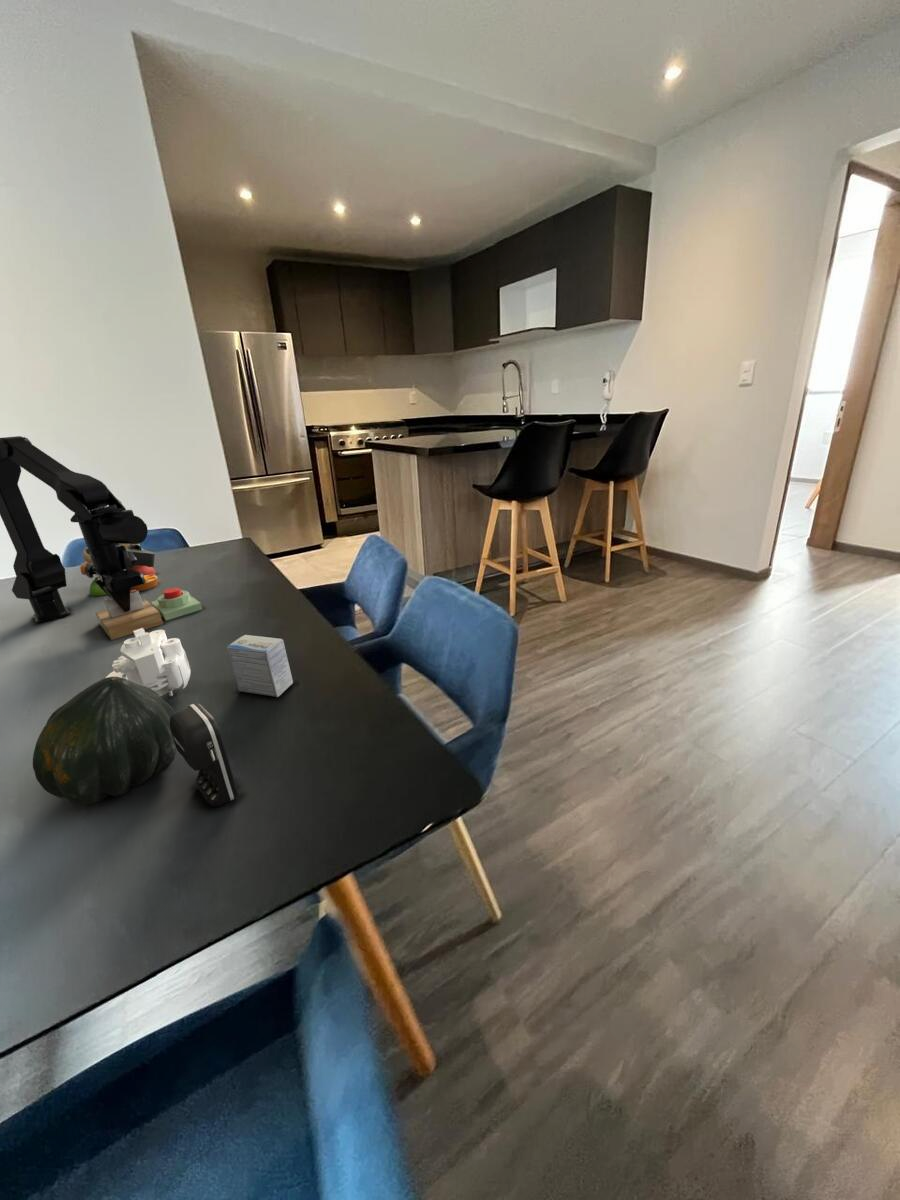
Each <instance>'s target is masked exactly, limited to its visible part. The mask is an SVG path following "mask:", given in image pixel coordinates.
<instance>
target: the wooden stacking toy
mask: <svg viewBox="0 0 900 1200" xmlns="http://www.w3.org/2000/svg"><path fill="white" fill-rule="evenodd" d="M121 545H123V546H125V548H128V547H129V545H130V544H121ZM137 545H140V546H141V543H140V544H137ZM142 550H144V548H142ZM82 558H83V560H84V561H85V562H83V563H82V564H80V573H81V575H83V576H87V575H86V572H85V570H84V568H85V566H86V565H87V563H91V562H92V560H91V557H90V555H89V554H87V552H86V550H85V549H83V551H82ZM132 567H133V568H131V569H133V570H135V571H137V572H139V573H141V574H143V576H144V579H145V583H144V584H142V585H138V586H134V587H131V589H130V591H131V590H137V591H138V592H143V591H148V590H151V589H154V588H155V587H157V585H158V576H157V575H156V574H157V573H156V571H155V569H154V567H147V566H137V565H132ZM125 570H128V569H125ZM97 580H99V579H98V576H96V577H94V579H93V581H91V583H90V585H89V595H90V596H92V597H102V596H108V595H107V594H106V593H105V592H104V591H103V590H102V589H101V588H100V587H99V586H98V585H97V584H96V583H95V581H97Z"/></svg>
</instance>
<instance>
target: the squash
mask: <svg viewBox="0 0 900 1200" xmlns="http://www.w3.org/2000/svg"><path fill="white" fill-rule="evenodd" d="M174 713H176V712H175V711H174V709H173V707H172V706H171V705H170V704H169V703H168V701H165V700H164V699H163V698H162V696H161V697H160V696H159V695H158V694H157V693H156V692H155V691H154V690H152V689H150V688H148V687H146V686H144V685H142V684H139V683H135V682H133V681H130V680H127V679H124V678H120V677H108V678H106V677H105V678H101V679H100V680H98V681H96V682H94V683H93V684H91V685H90V686H88V687H86V688H85V689H83V690H81V691H80V692H78V693H77V694H76V695H74V696H73V697H72V698H71V699H69V700H68V701H66V702H65V703H63V704H62V705H60V706H59V707H58V708H56V710H55V711H53V712H52V713H51V715H50V716H49V717H48V719H47V721H46V723H45V725H44V727H43V728H42V730H41V732H40V733H39V735H38V738H37V740H36V742H35V746H34V750H33V755H32V769H33V772H34V776H35V778H36V781H37V782H38V784H39V785H40V786H41V787H42V789H43V790H44V791H45V792H46V793H48V794H50V795H52V796H54V797H57V798H59V799H65V800H67V801H69V802H70V803H72V804H74V805H79V806H85V805H86V806H87V805H93V804H96V803H99V802H100V801H102V800H103V799H105V798H106V797H107V796H108V795H109V796H114V797H118V796H121V795H124V794H126V793H127V792H128V791H129V790H130V788H131V786H140V785H141V784H144V783H145V782H147V780H148V779H149V778H150V777H151V778H152V777H154V776H156V775H159V774H161V773H162V772H164V771H165V770H167V769H168V768H169V767H170V766H171V765H172V763H173V762H174V760H175V758H176V752H177V748H176V746H175V743H174V739H173V736H172V732H171V728H170V718H171V716H172V715H173V714H174Z"/></svg>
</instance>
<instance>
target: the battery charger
mask: <svg viewBox="0 0 900 1200" xmlns="http://www.w3.org/2000/svg"><path fill="white" fill-rule="evenodd" d="M170 728H171V732H172V736H173V739H174V743H175V746H176V751H178V753H179V754H180V755H181V756H182V758H183V759H184V761H185V762H186V764H187V765H188V766H189V767H190V768H191V769H192V770H194V771H198V774H197V778H196V780H195V786H196V788H197V790H198V791H199V792H200V794H201V795H202V796H203V798H204V799H205V800H206V803H208V804H209V805H210V806H211V807H213V808H214V807H220V806H222V805H224V804H227V803H228V802H230V801H231V802H232V801H233V800H235V798H237V797H238V796H239V791H238V788H237V784H236V781H235V778H234V773H233V771H232V767H231V763H230V759H229V757H228V753H227V749H226V746H225V743H224V740H223V736H222V733H221V730H220V727H219V725H218V723H217V721H216V719H215V718H214V716H213V715H212V714H211V713H210V712H209V711H208V710H207V709H206V708H205V707H204V706H203V705H202V704H201V703H200V702H199V703H198V702H197V703H192V704H189V705H188V706H187V707H185V708H182V709H180V710H178V711H176V712H175V713H174V714H173V715H172V716H171V718H170Z"/></svg>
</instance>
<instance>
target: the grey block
mask: <svg viewBox="0 0 900 1200" xmlns="http://www.w3.org/2000/svg"><path fill="white" fill-rule="evenodd" d="M142 600H143V599H142V598H141V595H140V591H137V590H131V591H130V611H127V612H124V611H123V610H122V609H121V607H120V606H119V605H118V604H117V603H116V602H115V601H114V600H113V598H112V597H111V598H110V597H108V598H107V597H106V598H103V602H104V605H105V608H106V610H107V611H108V614H109V616H110V617H111V618H113V617H116V616H119V615H122V614H126V613H129V612H132V611H135V610H138V609H142V608H144V606H143V603H142Z"/></svg>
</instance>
